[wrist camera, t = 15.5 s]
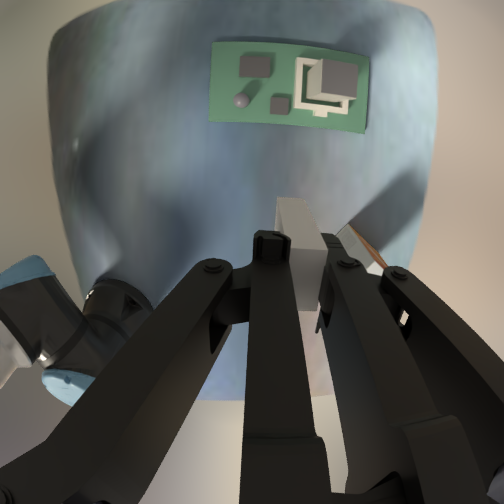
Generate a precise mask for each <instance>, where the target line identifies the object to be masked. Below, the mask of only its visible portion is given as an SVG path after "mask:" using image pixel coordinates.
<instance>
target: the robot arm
mask: <svg viewBox="0 0 504 504" xmlns="http://www.w3.org/2000/svg"><path fill="white" fill-rule="evenodd" d="M318 301H319V302H320V306H321V308H320V312H319V317H318V321H317V326H316V331H315V333H318V331H319V329H320V328H321V331H322V335H323V340H324V344H325V348H326V353H327V358H328V362H329V367H330V372H331V376H332V381H333V386H334V391H335V396H336V400H337V406H338V411H339V417H340V422H341V428H342V433H343V438H344V445H345V451H346V456H347V463H348V477H347V481H346V487H345V494H344V493H332V492H331V484H330V476H329V468H328V460H327V452H326V448H325V443H324V441H323V439H322V437H319V436H317V434H316V432H315V427H314V419H313V412H312V404H311V396H310V389H309V381H308V374H307V367H306V361H305V354H304V347H303V341H302V334H301V328H300V322H299V316H298V311H317V306H318ZM404 310H405V311H406V313H407V314H408V315H409V316H408V319H407V321H406V323H405V325H403V324H402V323H401V322H400V319H401V317H402V314H403V311H404ZM243 322H249V334H248V352H247V370H246V389H245V408H244V425H243V442H242V459H241V460H242V461H241V477H240V495H239V504H504V362H503V361H502V360H501V359H500V357H498V355H497V354H496V353H495V352H494V351H493V350H492V349H491V348H490V347H489V346H488V345H487V344H486V343H485V342H484V340H483V339H482V338H481V337H480V336H479V335H478V334H477V333H476V332H475V331H474V330H473V329H471V327H469V325H468V324H467V323H466V322H465V321H464V320H462V318H460V317H459V316H458V315H457V314H456V313H455V312H454V311H453V310H452V309H451V308H450V307H449V306H448V305H447V304H445V302H444V301H443V300H441V299H440V298H439V297H438V296H437V295H436V294H435V293H434V292H433V291H431V290H430V289H429V288H428V287H427V286H426V285H425V284H424V283H423V282H421V281H420V280H419V279H418V278H417V277H416V276H415V275H413V274H412V273H411V272H409V271H408V270H406V269H404V268H403V267H400V266H399V267H398V266H389V267H386V268H385V269H384V270H383V273H382V276H380V275H375V274H371V273H368V272H367V270H366V269H365V267H364V265H363V264H362V263H361V262H360V261H359V260H357V259H355V258H352V257H349V255H348V254H347V252H346V250H345V248H344V247H343V245H342V243H341V241H340V240H339V238H338V237H336V236H335V235H333V234H328V233H320V231H319V229H318V227H317V225H316V223H315V221H314V219H313V217H312V215H311V213H310V210H309V208H308V206H307V204H306V202H305V200H304V199H300V198H286V197H277V207H276V220H275V231H265V230H258V231H257V232H256V233H255V234H254V240H253V260H252V262H251V263H250V264H249V265H247V266H245V267H242V268H237V269H233V267H232V265H231V263H229V262H228V261H226V260H222V259H216V258H211V259H210V258H209V259H205V260H202V261H200V262H198V263H197V264H196V265H195V266H194V267H193V268H192V269H191V270H190V271H189V272H188V273H187V274H186V275H185V277H184V278H183V279H182V280H181V281H180V282H179V283H178V284H177V285H176V286H175V288H174V289H173V290H172V291H171V292H170V293H169V294H168V295H167V296H166V298H165V299H164V300H163V301H162V302H161V303H160V304H159V305H158V307H157V308H156V309H155V310H154V311H153V309H152V306H151V305H150V303H149V302H148V300H147V299H146V298H145V297H144V295H143V294H142V293H140V292H139V291H138V290H137V289H135V288H134V287H132V286H131V285H129V284H127V283H125V282H122V281H118V280H112V279H108V280H102V281H100V282H98V283H96V284H95V285H94V286H93V287H92V289H91V290H90V291H89V293H88V294H87V296H86V299H85V303H84V307H83V311H82V312H81V311H80V310H79V308H78V307H77V306H76V304H75V303H74V302H73V300H72V299H71V298H70V296H69V295H68V293H67V292H66V291H65V289H64V288H63V286H62V285H61V284H60V282H59V281H58V279H57V278H56V274H55V273H54V272H52V271H51V270H50V268H49V267H48V266H47V264H46V263H45V261H44V260H43V259H42V258H41V257H40V256H38V255H31V256H28V257H27V258H25V259H23V260H21V261H19V262H18V263H16V264H14V265H13V266H11V267H9V268H8V269H6V270H5V271H4V272H2V273H1V274H0V389H1V388H2V386H3V385H4V384H5V382H6V381H7V380H8V378H9V377H10V375H11V374H12V373H13V371H14V370H15V369H16V368H17V367H31V366H32V364H33V363H34V362H35V361H37V362H38V363H39V364H40V365H41V366H42V368H43V369H44V371H43V373H42V382H43V384H44V385H45V387H46V389H47V390H48V391H49V392H50V393H51V394H53V395H54V396H55V397H57V398H58V399H59V400H61V401H63V402H64V403H66V404H68V405H70V406H72V408H71V409H70V410H69V412H68V413H67V414H66V415H65V417H64V418H63V419H62V420H61V421H60V423H59V424H58V425H57V426H56V428H55V429H54V430H53V432H52V433H51V434H50V435H49V437H48V438H47V439H46V440H45V441H44V442H42V443H41V444H39V445H38V446H36V447H34V448H33V449H31V450H30V451H28V452H26V453H25V454H23V455H21V456H20V457H18V458H16V459H15V460H13V461H11V462H10V463H8V464H6V465H5V466H3V467H1V468H0V504H138V503H139V501H140V500H141V498H142V497H143V495H144V494H145V492H146V490H147V488H148V486H149V485H150V483H151V481H152V479H153V478H154V476H155V474H156V472H157V470H158V468H159V467H160V465H161V462H162V461H163V459H164V457H165V455H166V454H167V452H168V450H169V448H170V446H171V444H172V443H173V441H174V439H175V437H176V435H177V433H178V431H179V429H180V428H181V426H182V424H183V422H184V420H185V418H186V416H187V415H188V413H189V411H190V409H191V407H192V405H193V403H194V401H195V399H196V397H197V396H198V394H199V392H200V390H201V388H202V386H203V384H204V382H205V380H206V378H207V376H208V375H209V373H210V371H211V369H212V367H213V365H214V363H215V361H216V359H217V357H218V355H219V353H220V351H221V349H222V347H223V345H224V344H225V342H226V340H227V338H228V336H229V334H230V332H231V329H232V324H238V323H243Z"/></svg>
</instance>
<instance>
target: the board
mask: <svg viewBox="0 0 504 504" xmlns="http://www.w3.org/2000/svg"><path fill="white" fill-rule="evenodd" d="M321 59H327V60H333V61H339V62H345V63H350V64H355V65H358V83H357V98H356V99H353V100H346V101H340V102H327V101H319V100H311V99H306V85H307V72H308V71H309V70H310V69H311V68H312V67H313V66H314V65H315V64H316V63H317V62H319V61H320V60H321ZM368 77H369V57H366V56H362V55H357V54H353V53H348V52H342V51H337V50H331V49H325V48H318V47H310V46H302V45H293V44H282V43H267V42H212V53H211V72H210V96H209V122H255V123H273V124H287V125H299V126H309V127H318V128H326V129H334V130H341V131H348V132H355V133H361V134H365V123H366V111H367V96H368Z"/></svg>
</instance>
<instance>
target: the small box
mask: <svg viewBox="0 0 504 504" xmlns="http://www.w3.org/2000/svg"><path fill="white" fill-rule="evenodd" d="M336 237H338V238H339V240H340V241H341V243H342V245H343V247H344V248H345V250H346V252H347V254H348V255H349V257H352V258H355V259H357V260H359V261H360V262H361V263H362V264H363V265H364V267H365V269H366V270H367V272H368V273H371V274H375V275H380V276H382V273H383V270H384V269H385V268H386V267H388V266H387V264H386V263H385V261H384V260H383V258H382V257H381V256H380V254H379V253H378V252H377V251H376V250H375V249H374V248H373V247H372V246H371V245H370V244H369V243H368V242H367V241H366V240H364V239H363V238H362V237H361V236H360V235H359V234H358V233H357V232H356V231H355V230H354V229H353V228H352V227H351V226H350V225H349V224H347V225H346V226H345V227H344V228H343V229H342V230H341V231H340V232H339V233H338V234H337V235H336Z"/></svg>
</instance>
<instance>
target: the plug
mask: <svg viewBox="0 0 504 504" xmlns="http://www.w3.org/2000/svg"><path fill="white" fill-rule="evenodd" d="M357 83H358V65H355V64H350V63H345V62H339V61H333V60H327V59H321V60H320V61H319V62H317V63H316V64H315V65H314V66H313V67H312V68H311V69H310V70H309V71H308V72H307V85H306V99H311V100H319V101H327V102H340V101H346V100H353V99H356V98H357Z"/></svg>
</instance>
